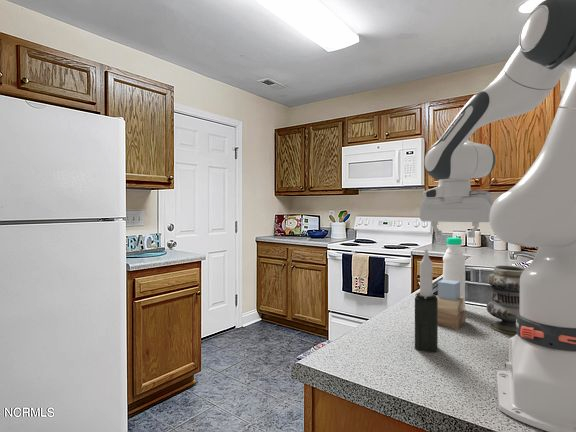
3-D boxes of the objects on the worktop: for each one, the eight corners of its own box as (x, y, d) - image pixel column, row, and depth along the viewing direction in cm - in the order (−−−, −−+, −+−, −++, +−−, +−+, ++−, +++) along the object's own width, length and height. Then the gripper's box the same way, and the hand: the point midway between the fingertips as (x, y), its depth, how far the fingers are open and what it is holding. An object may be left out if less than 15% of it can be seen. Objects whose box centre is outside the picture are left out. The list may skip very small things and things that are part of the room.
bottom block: (458, 329, 102) (458, 316, 101) (430, 323, 107) (430, 311, 107) (465, 322, 108) (465, 309, 107) (438, 317, 113) (438, 305, 113)
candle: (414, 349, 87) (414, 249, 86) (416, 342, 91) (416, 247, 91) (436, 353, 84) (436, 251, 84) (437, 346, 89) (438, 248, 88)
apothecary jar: (503, 337, 94) (503, 271, 94) (477, 322, 106) (478, 264, 106) (546, 336, 95) (547, 270, 94) (516, 322, 107) (516, 263, 106)
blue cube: (455, 300, 103) (455, 284, 103) (437, 298, 107) (437, 281, 106) (460, 297, 107) (460, 281, 107) (443, 294, 110) (443, 279, 110)
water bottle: (438, 308, 122) (438, 237, 121) (452, 306, 125) (452, 236, 124) (455, 314, 115) (455, 238, 115) (470, 311, 118) (470, 238, 118)
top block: (457, 315, 102) (457, 302, 102) (432, 311, 106) (432, 298, 106) (463, 310, 107) (463, 297, 107) (439, 306, 112) (439, 293, 112)
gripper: (495, 190, 102) (495, 237, 102) (424, 193, 115) (424, 234, 115) (491, 189, 97) (491, 239, 97) (417, 192, 110) (417, 236, 110)
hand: (454, 236), depth 106 cm, fingers open, 8 cm apart
